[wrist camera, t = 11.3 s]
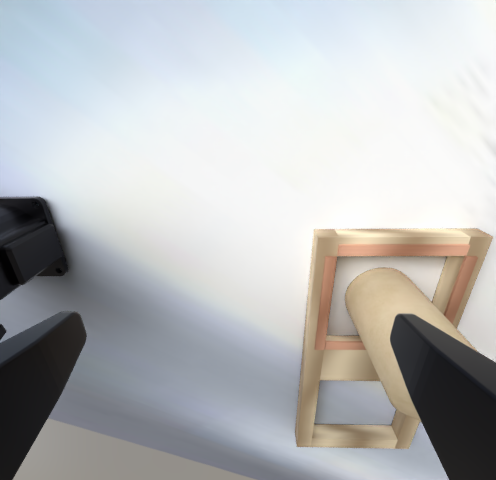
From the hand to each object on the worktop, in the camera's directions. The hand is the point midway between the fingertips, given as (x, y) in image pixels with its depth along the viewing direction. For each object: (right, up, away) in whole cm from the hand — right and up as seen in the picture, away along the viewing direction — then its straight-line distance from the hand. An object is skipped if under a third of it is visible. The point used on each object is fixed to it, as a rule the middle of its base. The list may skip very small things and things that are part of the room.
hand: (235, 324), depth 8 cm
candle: (+11, -2, +15) cm, 19 cm away
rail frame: (+12, -8, +18) cm, 23 cm away
